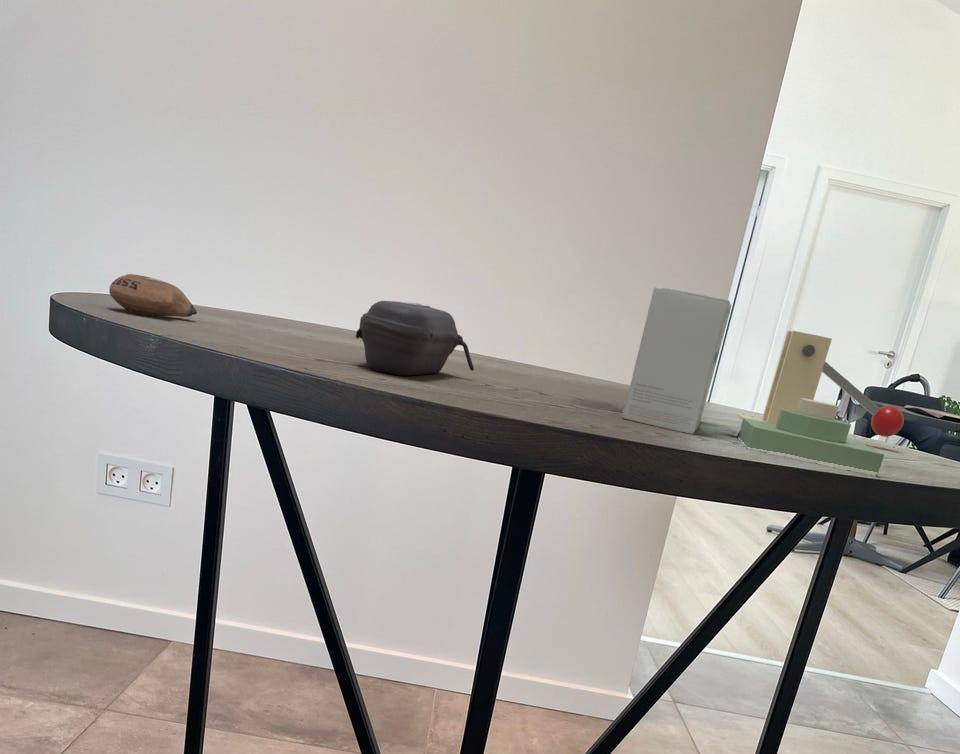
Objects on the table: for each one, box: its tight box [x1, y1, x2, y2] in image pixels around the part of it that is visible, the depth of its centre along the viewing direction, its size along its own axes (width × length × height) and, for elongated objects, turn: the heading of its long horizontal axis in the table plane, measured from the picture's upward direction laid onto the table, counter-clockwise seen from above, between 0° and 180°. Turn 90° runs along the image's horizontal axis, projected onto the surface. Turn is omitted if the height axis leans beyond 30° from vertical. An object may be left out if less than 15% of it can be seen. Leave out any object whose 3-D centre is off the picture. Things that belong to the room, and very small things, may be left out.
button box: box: [737, 409, 885, 473], centre depth 93 cm, size 12×10×4 cm
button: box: [797, 398, 840, 421], centre depth 92 cm, size 4×4×2 cm
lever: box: [822, 361, 905, 438], centre depth 113 cm, size 16×4×4 cm, turn 80°
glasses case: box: [355, 300, 475, 377], centre depth 97 cm, size 18×10×8 cm, turn 168°
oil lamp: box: [108, 273, 198, 318], centre depth 102 cm, size 9×4×8 cm
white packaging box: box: [622, 286, 732, 435], centre depth 95 cm, size 7×7×13 cm
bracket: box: [737, 330, 833, 424], centre depth 114 cm, size 10×8×12 cm
